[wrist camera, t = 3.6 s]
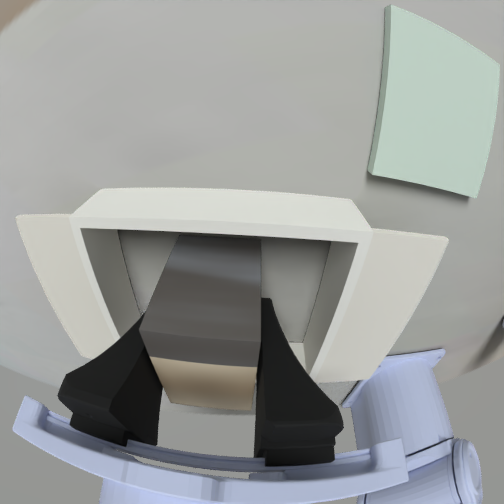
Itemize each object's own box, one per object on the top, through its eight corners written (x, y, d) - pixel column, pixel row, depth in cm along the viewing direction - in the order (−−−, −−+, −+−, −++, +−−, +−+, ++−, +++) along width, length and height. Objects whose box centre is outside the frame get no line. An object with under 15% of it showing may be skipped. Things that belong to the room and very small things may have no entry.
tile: (470, 193, 11) (476, 198, 10) (367, 170, 11) (372, 174, 10) (492, 63, 6) (499, 64, 6) (384, 7, 6) (390, 4, 6)
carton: (359, 345, 18) (369, 379, 15) (96, 326, 18) (81, 356, 15) (419, 209, 12) (449, 240, 9) (47, 192, 12) (15, 217, 9)
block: (253, 322, 16) (250, 410, 12) (189, 317, 16) (170, 402, 12) (260, 239, 13) (260, 341, 8) (179, 235, 13) (138, 329, 8)
